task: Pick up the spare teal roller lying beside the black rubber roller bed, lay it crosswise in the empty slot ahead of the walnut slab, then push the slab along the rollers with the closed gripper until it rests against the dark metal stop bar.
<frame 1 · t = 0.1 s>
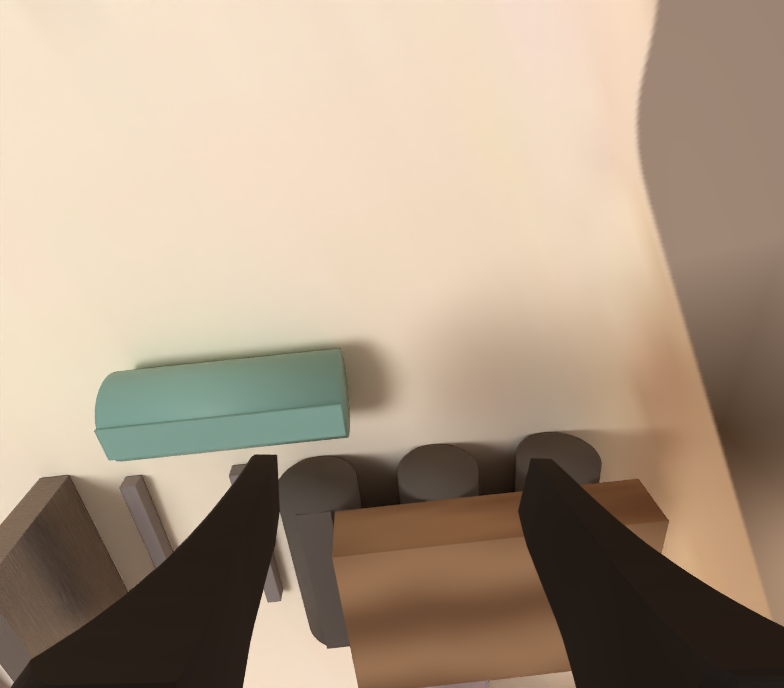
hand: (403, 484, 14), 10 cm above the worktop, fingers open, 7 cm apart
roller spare: (242, 379, 24), on the worktop
slab: (486, 569, 25), point 4 cm above the worktop, touching roller bed
roller bed: (419, 515, 28), on the worktop
stop bar: (92, 550, 28), on the worktop
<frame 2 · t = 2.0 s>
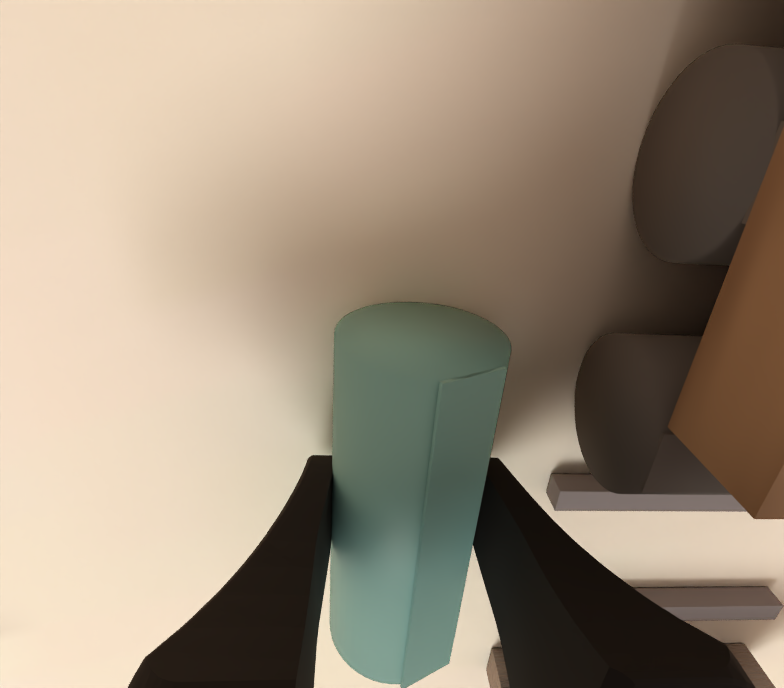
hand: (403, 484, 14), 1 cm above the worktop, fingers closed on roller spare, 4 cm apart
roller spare: (372, 455, 15), on the worktop, tilted 25°, touching gripper
stop bar: (615, 656, 21), on the worktop
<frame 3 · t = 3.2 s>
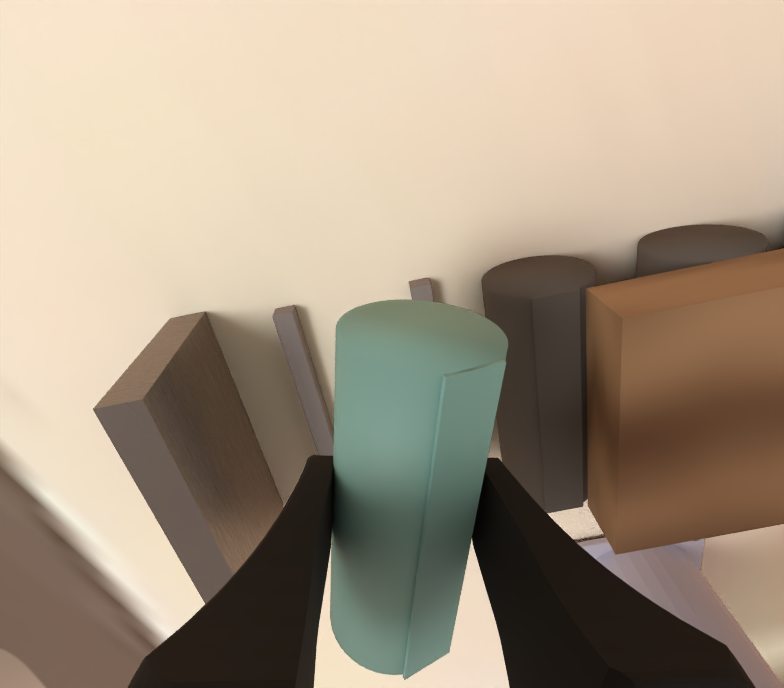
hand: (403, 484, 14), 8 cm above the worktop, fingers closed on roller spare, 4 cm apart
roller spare: (369, 451, 15), point 7 cm above the worktop, tilted 28°, touching gripper
slab: (773, 374, 18), point 4 cm above the worktop, touching roller bed
roller bed: (638, 342, 22), on the worktop
stop bar: (232, 422, 22), on the worktop
when the fingers open (2 cm above the worktop, at t = 4.9 s): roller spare stays where it is and tips over, on the worktop.
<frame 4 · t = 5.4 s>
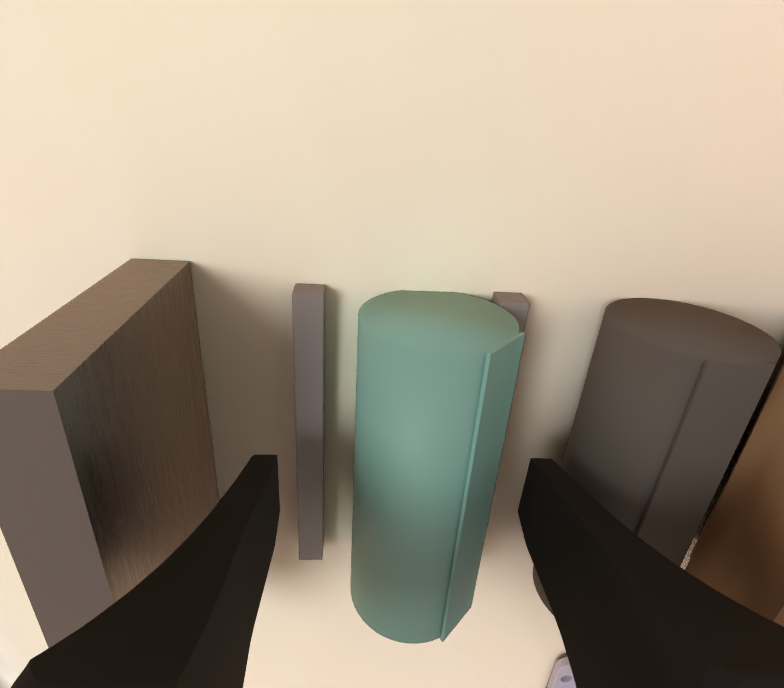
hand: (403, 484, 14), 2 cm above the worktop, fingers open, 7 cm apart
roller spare: (372, 441, 16), on the worktop, tilted 46°
roller bed: (740, 438, 17), on the worktop
stop bar: (185, 428, 15), on the worktop
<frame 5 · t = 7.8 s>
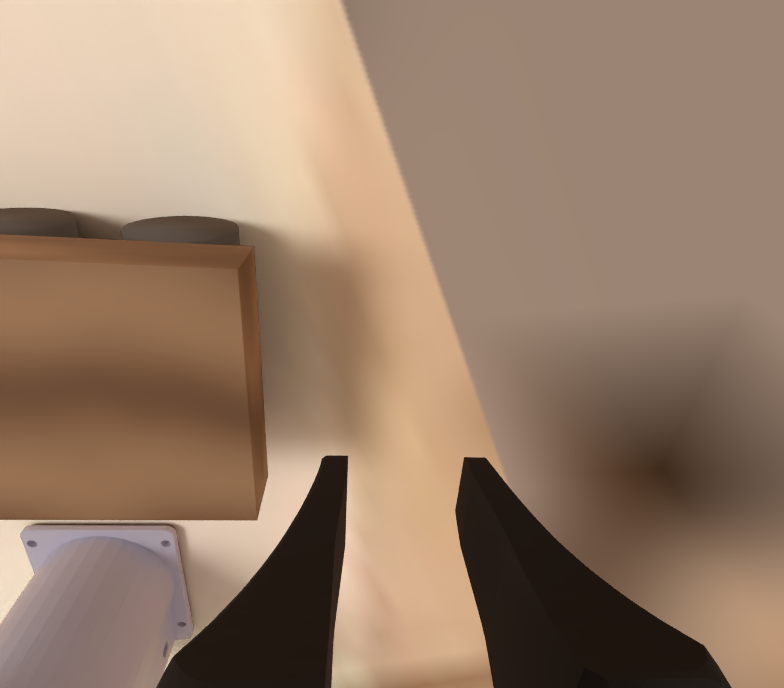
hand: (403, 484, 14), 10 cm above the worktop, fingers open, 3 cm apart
slab: (70, 369, 18), point 4 cm above the worktop, touching roller bed
roller bed: (46, 322, 21), on the worktop
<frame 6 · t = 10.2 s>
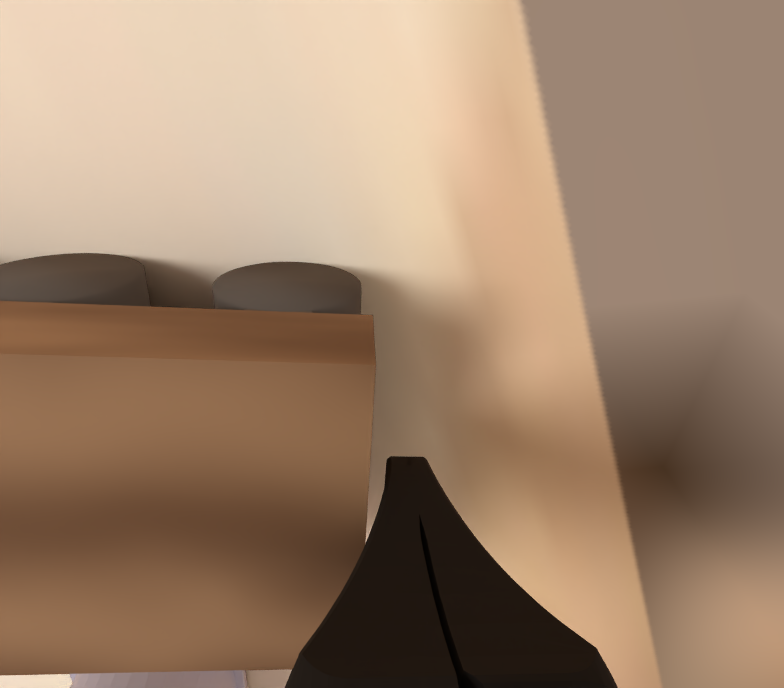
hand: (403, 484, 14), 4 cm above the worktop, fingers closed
slab: (111, 471, 13), point 4 cm above the worktop, touching gripper, roller bed
roller bed: (96, 392, 17), on the worktop
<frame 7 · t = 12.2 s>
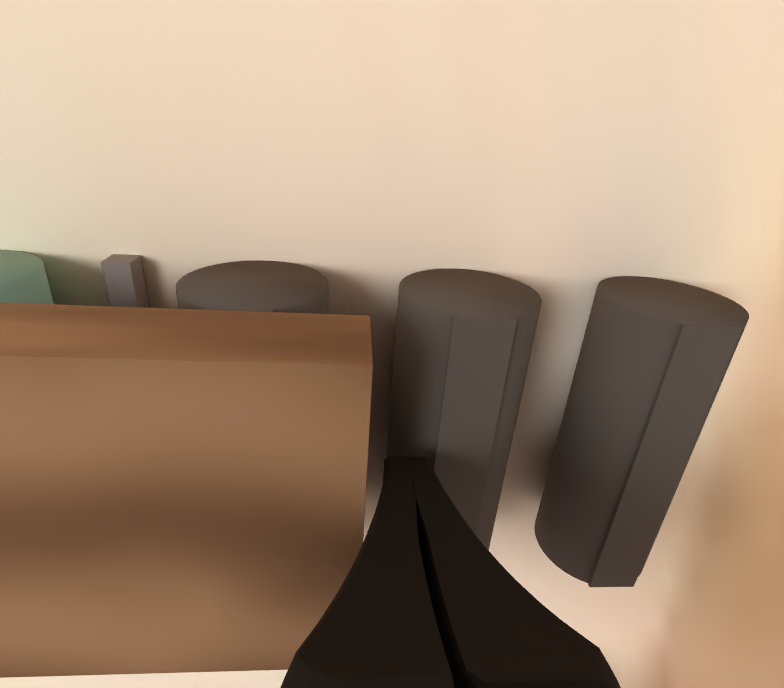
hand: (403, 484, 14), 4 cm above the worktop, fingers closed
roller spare: (49, 392, 17), on the worktop, touching roller bed, slab
slab: (108, 472, 13), point 4 cm above the worktop, touching gripper, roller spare
roller bed: (413, 399, 18), on the worktop
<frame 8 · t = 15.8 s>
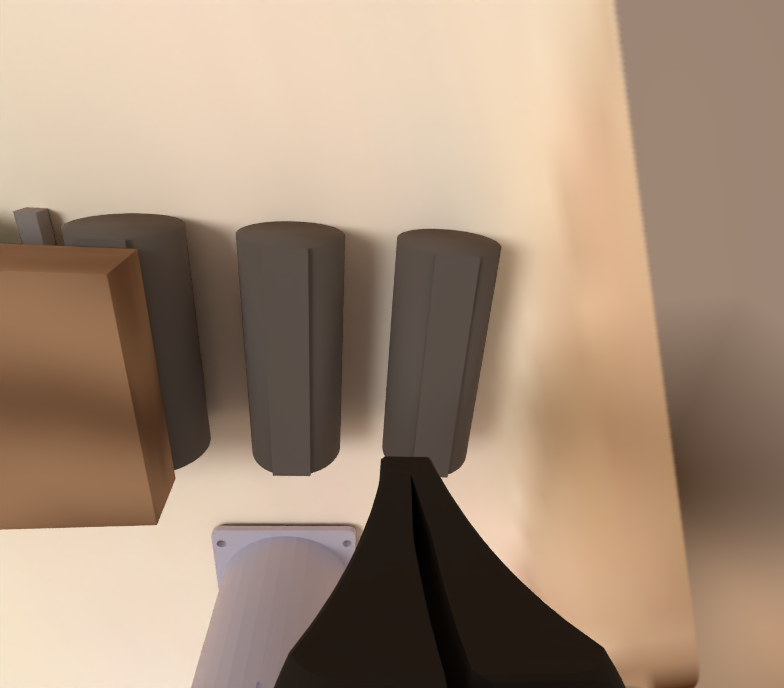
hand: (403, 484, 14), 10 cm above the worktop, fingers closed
roller bed: (277, 330, 22), on the worktop
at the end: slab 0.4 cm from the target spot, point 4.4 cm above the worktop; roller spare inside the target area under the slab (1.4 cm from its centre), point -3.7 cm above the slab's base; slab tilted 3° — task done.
